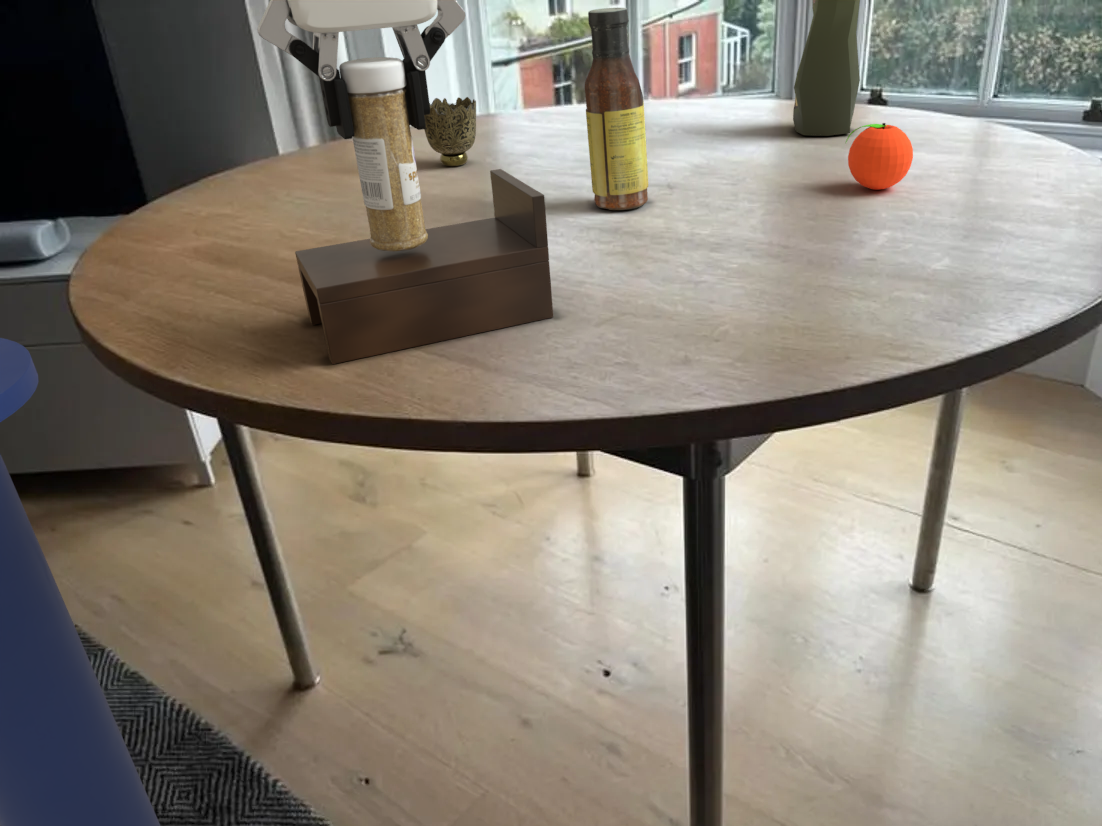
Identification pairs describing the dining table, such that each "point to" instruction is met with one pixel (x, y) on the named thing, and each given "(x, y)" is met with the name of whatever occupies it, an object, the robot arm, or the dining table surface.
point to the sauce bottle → (615, 116)
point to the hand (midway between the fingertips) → (381, 128)
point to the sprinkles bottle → (385, 152)
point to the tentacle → (828, 70)
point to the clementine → (880, 156)
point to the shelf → (434, 280)
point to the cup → (451, 129)
